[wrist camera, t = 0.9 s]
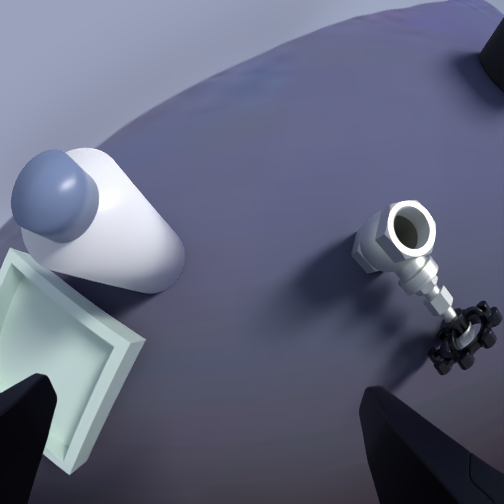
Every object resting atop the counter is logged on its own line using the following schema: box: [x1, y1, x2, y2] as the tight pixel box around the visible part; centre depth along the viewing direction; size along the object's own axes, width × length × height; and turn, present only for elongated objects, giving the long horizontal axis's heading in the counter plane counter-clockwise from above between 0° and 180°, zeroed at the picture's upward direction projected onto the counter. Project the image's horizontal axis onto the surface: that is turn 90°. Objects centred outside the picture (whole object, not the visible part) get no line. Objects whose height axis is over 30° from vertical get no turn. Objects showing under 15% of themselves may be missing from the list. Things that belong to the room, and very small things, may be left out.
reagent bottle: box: [11, 148, 185, 294], centre depth 16 cm, size 5×5×14 cm
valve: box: [351, 200, 502, 375], centre depth 19 cm, size 7×7×12 cm
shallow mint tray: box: [0, 248, 146, 475], centre depth 19 cm, size 12×12×4 cm
